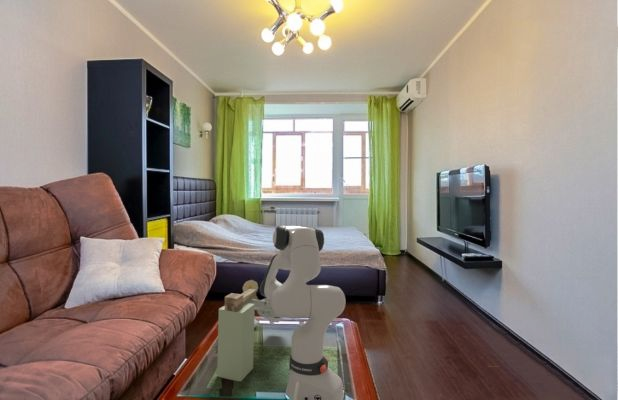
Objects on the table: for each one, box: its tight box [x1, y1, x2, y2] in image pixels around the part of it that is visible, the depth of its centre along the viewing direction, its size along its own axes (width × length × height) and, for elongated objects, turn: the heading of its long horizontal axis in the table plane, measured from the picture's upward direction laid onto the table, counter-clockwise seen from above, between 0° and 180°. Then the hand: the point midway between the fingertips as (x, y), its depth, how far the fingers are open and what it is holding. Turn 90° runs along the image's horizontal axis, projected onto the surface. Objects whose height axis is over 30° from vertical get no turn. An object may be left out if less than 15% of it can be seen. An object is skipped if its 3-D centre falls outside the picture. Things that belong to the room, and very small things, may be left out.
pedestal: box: [216, 303, 256, 382], centre depth 131 cm, size 10×10×26 cm
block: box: [224, 289, 257, 312], centre depth 134 cm, size 5×18×5 cm, turn 162°
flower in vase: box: [242, 279, 259, 329], centre depth 171 cm, size 13×11×25 cm
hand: (255, 301), depth 145 cm, fingers open, 8 cm apart
